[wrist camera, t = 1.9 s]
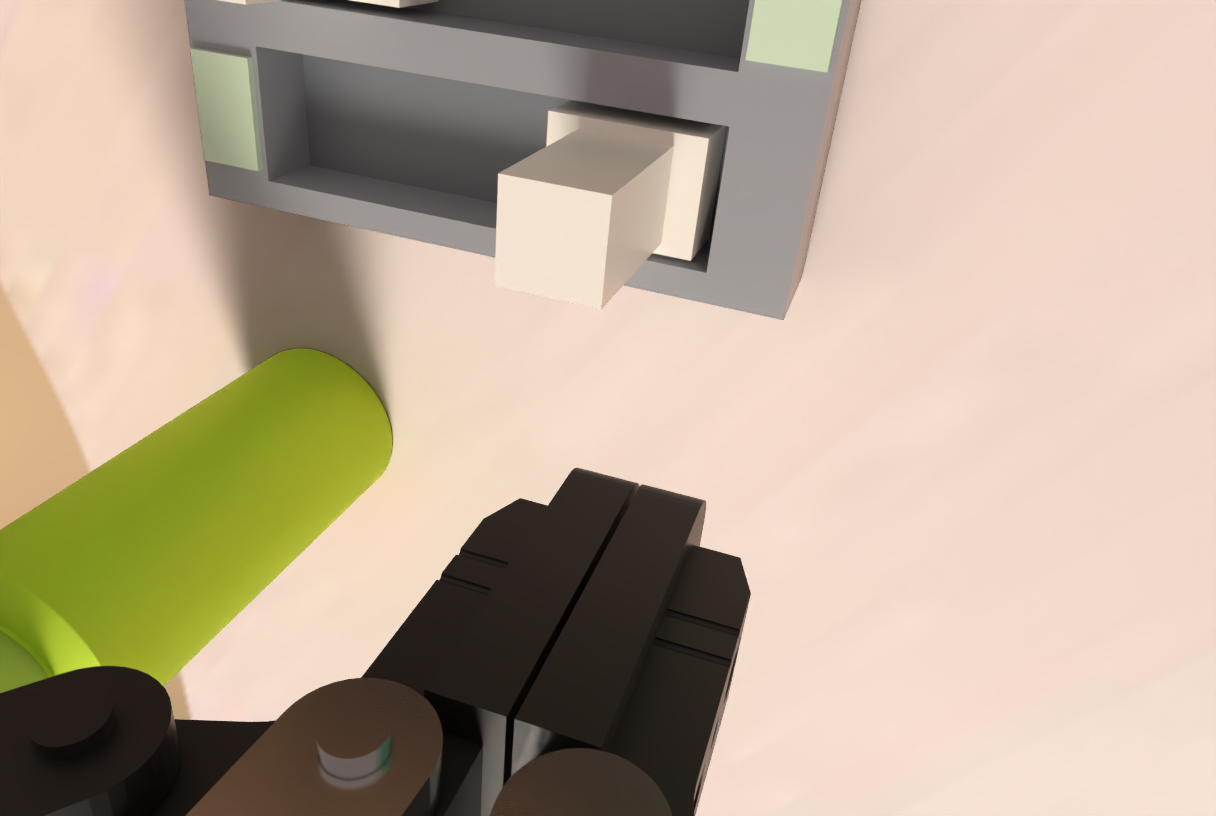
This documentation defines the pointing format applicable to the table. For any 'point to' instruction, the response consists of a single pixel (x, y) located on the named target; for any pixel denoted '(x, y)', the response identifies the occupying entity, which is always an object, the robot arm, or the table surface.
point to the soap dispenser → (187, 522)
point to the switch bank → (522, 114)
